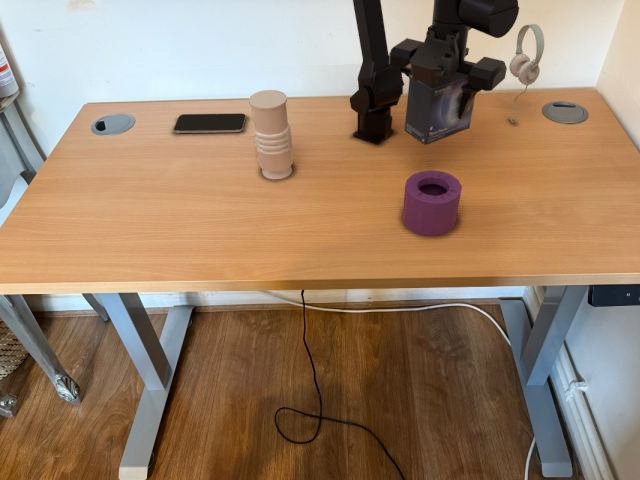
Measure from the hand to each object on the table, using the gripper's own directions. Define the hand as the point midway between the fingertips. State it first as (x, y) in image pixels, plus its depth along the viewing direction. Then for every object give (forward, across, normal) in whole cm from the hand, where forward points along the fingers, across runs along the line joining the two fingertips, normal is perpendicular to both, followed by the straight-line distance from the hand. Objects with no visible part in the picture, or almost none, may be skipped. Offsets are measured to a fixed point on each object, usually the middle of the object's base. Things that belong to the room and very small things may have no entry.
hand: (440, 112), depth 93 cm
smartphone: (+13, -50, -10) cm, 53 cm away
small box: (+4, 0, 0) cm, 4 cm away
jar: (+13, +6, -12) cm, 19 cm away
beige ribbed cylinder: (+13, -26, -16) cm, 33 cm away
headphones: (+13, +4, +27) cm, 31 cm away
